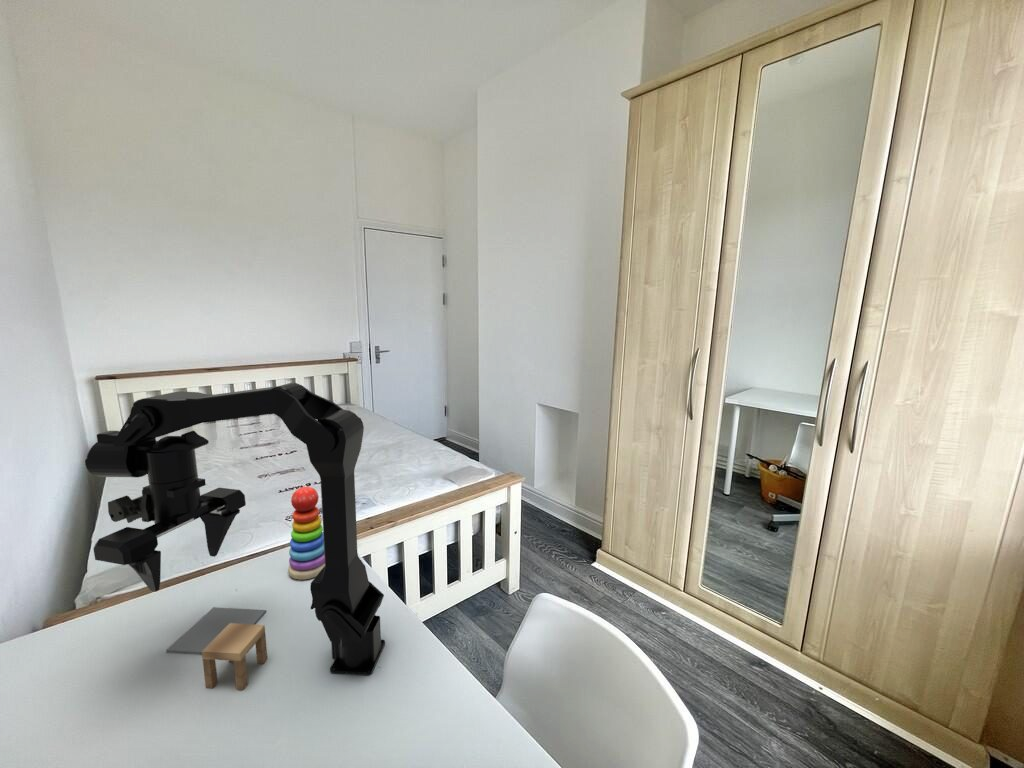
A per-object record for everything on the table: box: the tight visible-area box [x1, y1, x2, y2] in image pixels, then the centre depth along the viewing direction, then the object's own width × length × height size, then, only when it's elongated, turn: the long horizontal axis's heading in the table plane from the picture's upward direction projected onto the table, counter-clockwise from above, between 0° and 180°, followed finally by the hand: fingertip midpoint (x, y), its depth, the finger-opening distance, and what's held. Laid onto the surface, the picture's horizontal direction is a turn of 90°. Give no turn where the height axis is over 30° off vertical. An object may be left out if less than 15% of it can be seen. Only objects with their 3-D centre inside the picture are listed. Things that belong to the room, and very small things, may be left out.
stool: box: [201, 623, 268, 691], centre depth 62 cm, size 6×6×6 cm
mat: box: [165, 606, 267, 655], centre depth 71 cm, size 10×10×1 cm
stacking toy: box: [287, 486, 325, 581], centre depth 87 cm, size 8×8×19 cm
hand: (186, 572), depth 65 cm, fingers open, 9 cm apart
